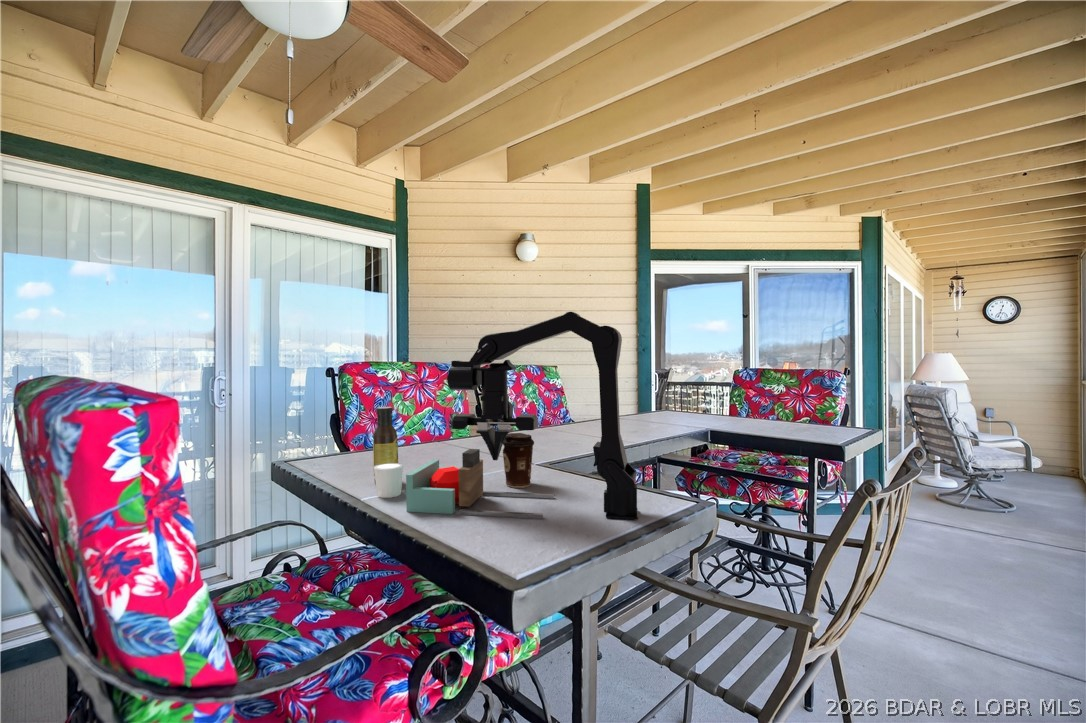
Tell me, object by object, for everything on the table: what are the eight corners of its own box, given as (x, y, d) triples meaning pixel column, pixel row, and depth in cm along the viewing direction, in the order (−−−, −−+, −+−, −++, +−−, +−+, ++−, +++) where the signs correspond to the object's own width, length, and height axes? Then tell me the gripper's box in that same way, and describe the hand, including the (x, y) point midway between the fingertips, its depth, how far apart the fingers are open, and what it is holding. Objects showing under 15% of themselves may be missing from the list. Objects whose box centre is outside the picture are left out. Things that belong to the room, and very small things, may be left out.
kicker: (483, 493, 118) (482, 447, 118) (469, 506, 108) (469, 456, 108) (473, 492, 118) (473, 446, 118) (459, 505, 109) (458, 455, 108)
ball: (426, 501, 116) (426, 468, 115) (458, 495, 120) (457, 463, 120) (440, 510, 109) (440, 475, 109) (473, 503, 114) (473, 470, 113)
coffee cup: (498, 489, 125) (498, 437, 124) (502, 480, 133) (502, 432, 133) (533, 489, 124) (533, 437, 124) (535, 480, 133) (535, 432, 132)
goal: (474, 493, 121) (474, 461, 121) (452, 514, 106) (452, 476, 106) (433, 491, 123) (433, 459, 123) (406, 511, 108) (406, 474, 108)
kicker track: (554, 497, 117) (554, 494, 117) (542, 519, 103) (542, 515, 103) (480, 494, 121) (480, 490, 121) (459, 514, 106) (459, 510, 106)
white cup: (400, 488, 126) (400, 461, 126) (406, 495, 120) (406, 466, 120) (371, 492, 123) (371, 464, 122) (377, 500, 116) (376, 470, 116)
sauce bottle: (402, 482, 132) (401, 407, 131) (380, 487, 128) (379, 409, 127) (391, 477, 137) (390, 405, 136) (369, 482, 132) (368, 407, 132)
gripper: (542, 388, 118) (542, 453, 118) (466, 387, 121) (467, 451, 122) (532, 392, 107) (533, 464, 107) (449, 391, 110) (451, 462, 111)
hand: (495, 460), depth 112 cm, fingers closed
